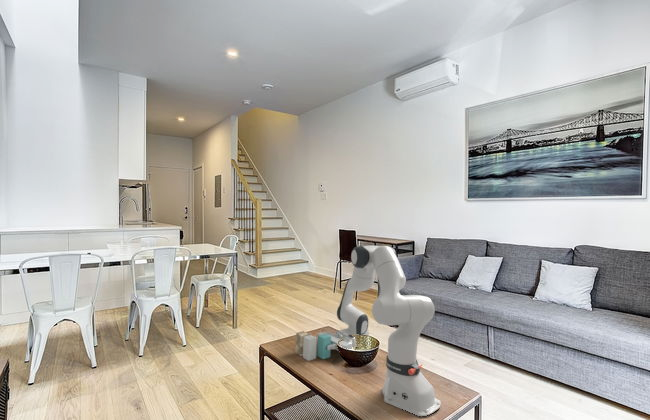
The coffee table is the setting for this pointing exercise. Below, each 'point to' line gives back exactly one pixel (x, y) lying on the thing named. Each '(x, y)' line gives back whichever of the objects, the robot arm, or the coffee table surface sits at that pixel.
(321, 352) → the teal block
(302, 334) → the beige carved figurine
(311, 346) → the grey block
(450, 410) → the coffee table surface
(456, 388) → the coffee table surface
